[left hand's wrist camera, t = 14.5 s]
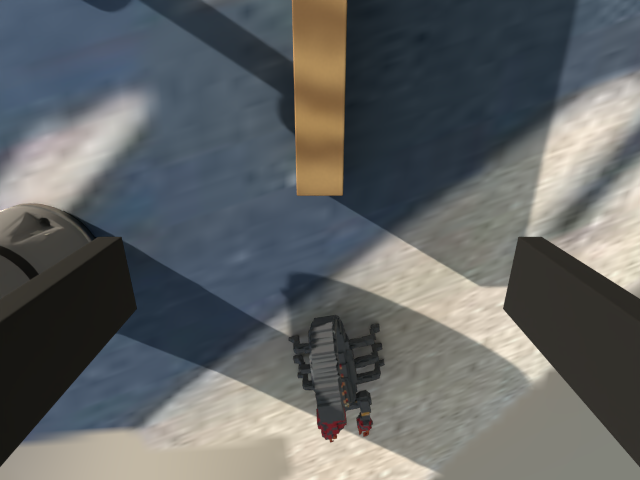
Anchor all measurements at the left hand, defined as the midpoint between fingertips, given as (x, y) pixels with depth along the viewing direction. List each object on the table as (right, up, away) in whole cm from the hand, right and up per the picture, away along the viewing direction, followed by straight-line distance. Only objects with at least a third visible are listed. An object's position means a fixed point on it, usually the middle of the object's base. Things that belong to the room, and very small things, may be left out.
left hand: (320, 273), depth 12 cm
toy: (+2, -17, +43) cm, 46 cm away
